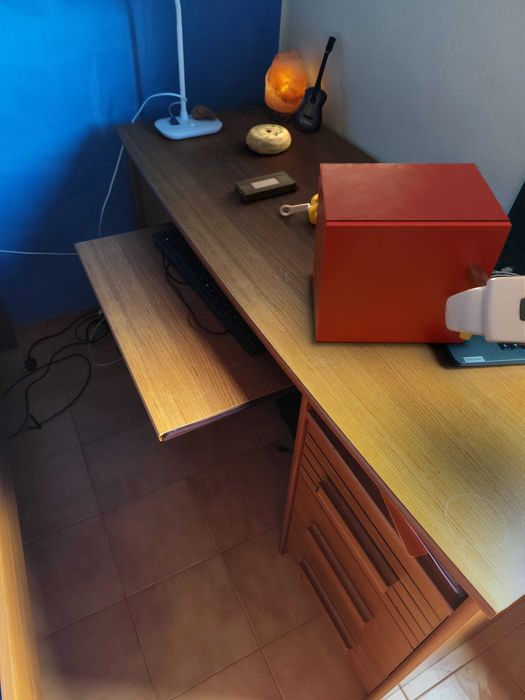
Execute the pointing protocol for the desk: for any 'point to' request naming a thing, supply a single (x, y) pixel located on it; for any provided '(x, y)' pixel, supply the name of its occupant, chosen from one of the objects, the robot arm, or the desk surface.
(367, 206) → the cabinet
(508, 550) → the desk surface
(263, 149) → the bagel
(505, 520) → the desk surface
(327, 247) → the door
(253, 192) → the vhs tape
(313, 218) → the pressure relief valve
